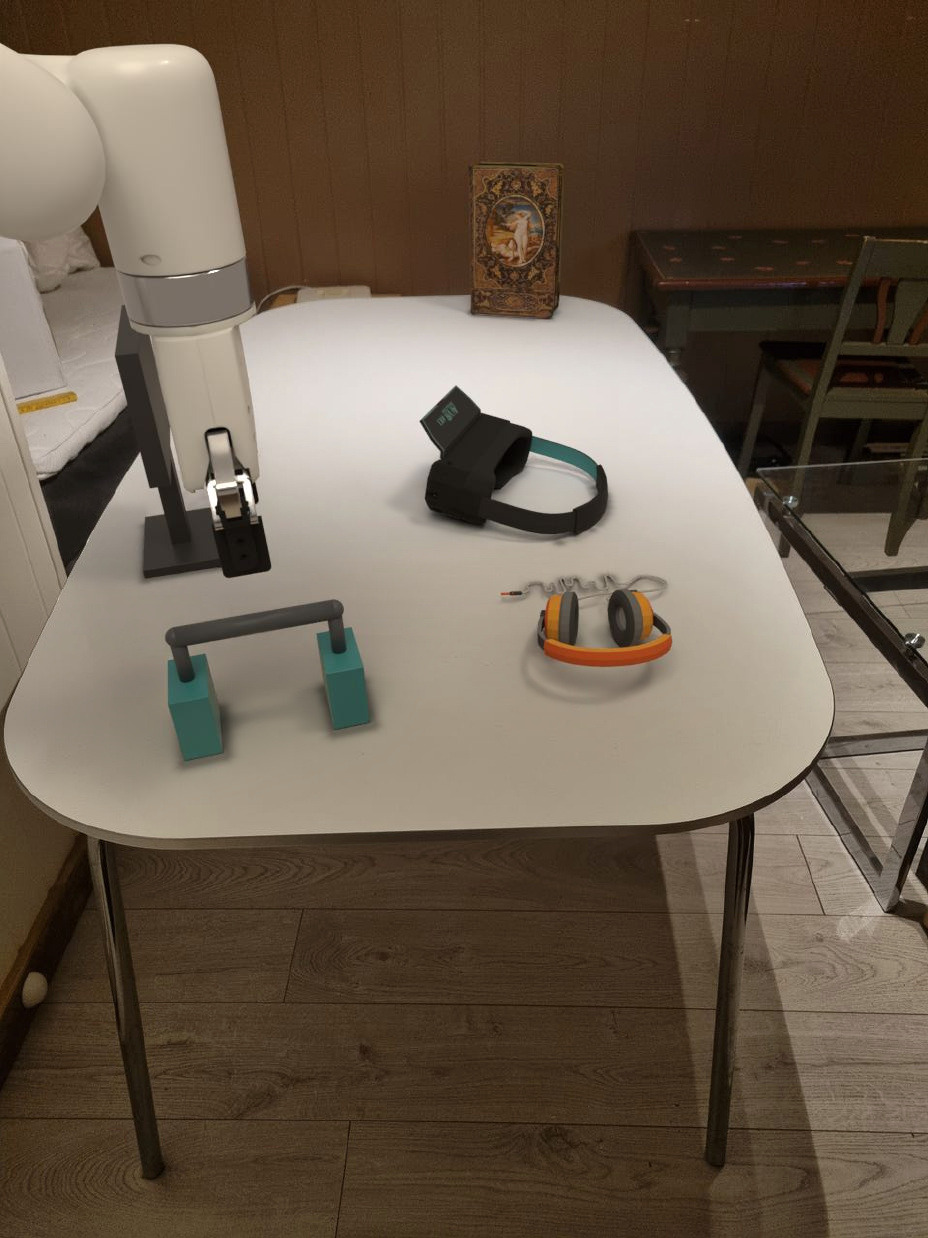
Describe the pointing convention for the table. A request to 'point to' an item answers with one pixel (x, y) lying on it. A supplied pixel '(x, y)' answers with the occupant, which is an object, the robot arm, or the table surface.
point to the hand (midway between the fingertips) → (242, 537)
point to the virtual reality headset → (496, 468)
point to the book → (515, 238)
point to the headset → (191, 674)
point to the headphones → (625, 619)
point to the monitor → (160, 465)
